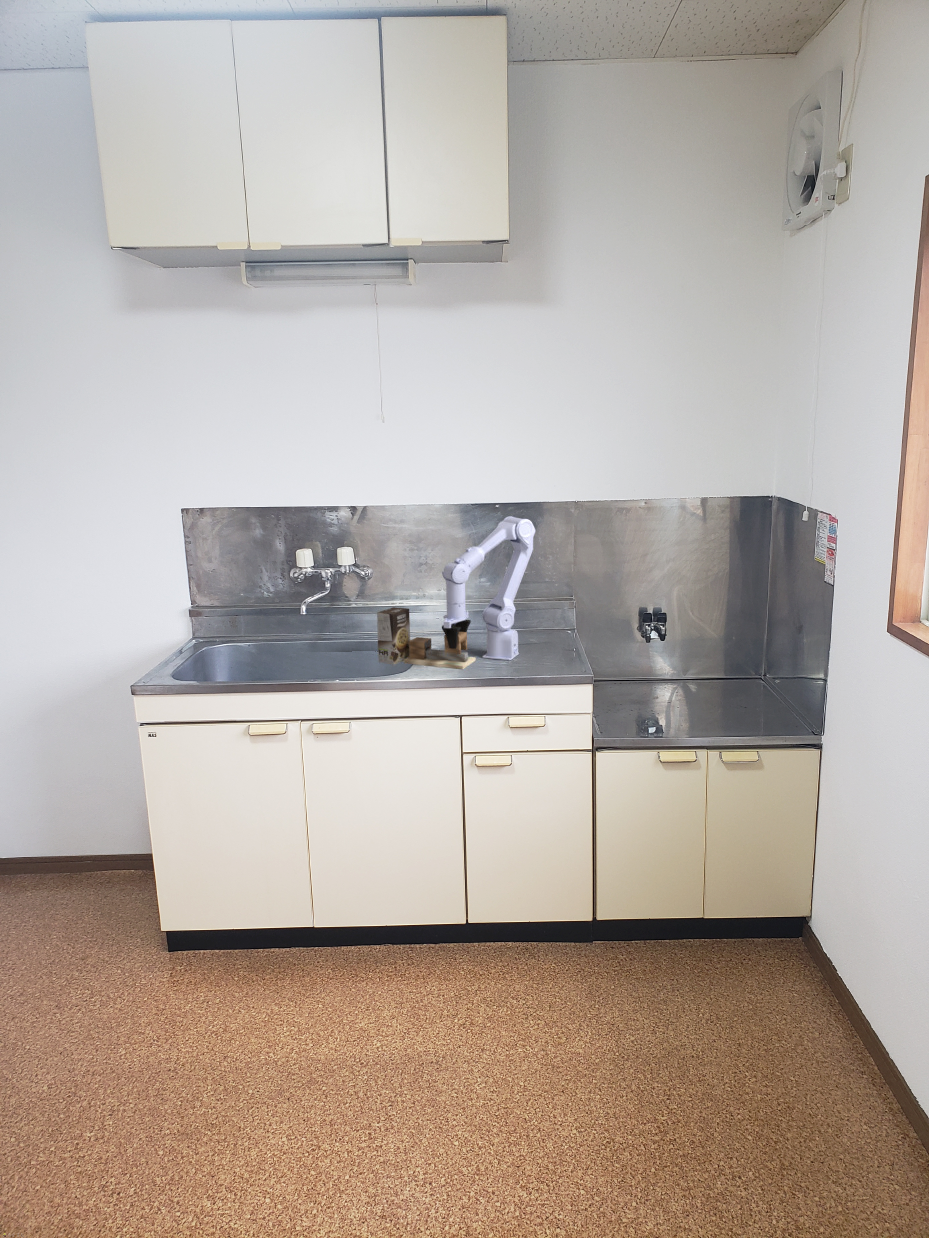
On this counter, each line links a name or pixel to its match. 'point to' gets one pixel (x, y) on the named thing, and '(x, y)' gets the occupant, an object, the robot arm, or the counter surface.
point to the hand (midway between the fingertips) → (456, 645)
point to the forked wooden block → (460, 644)
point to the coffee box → (393, 635)
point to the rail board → (439, 662)
